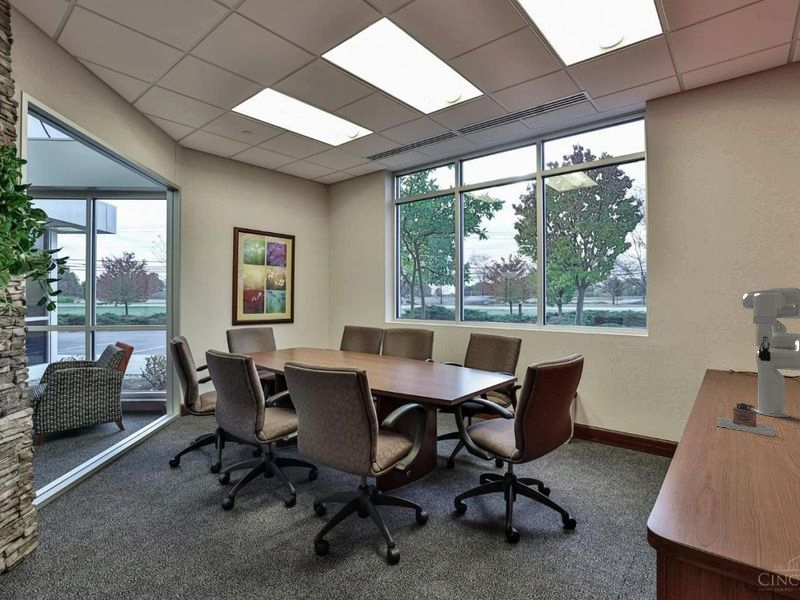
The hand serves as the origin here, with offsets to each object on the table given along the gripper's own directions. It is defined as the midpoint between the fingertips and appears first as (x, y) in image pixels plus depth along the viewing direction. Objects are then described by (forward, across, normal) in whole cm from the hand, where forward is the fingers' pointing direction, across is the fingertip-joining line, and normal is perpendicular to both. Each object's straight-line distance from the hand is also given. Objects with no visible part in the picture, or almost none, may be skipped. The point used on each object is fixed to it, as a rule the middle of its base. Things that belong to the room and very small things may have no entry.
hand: (764, 359), depth 174 cm
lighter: (+28, +14, -7) cm, 32 cm away
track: (+28, +14, -7) cm, 32 cm away
